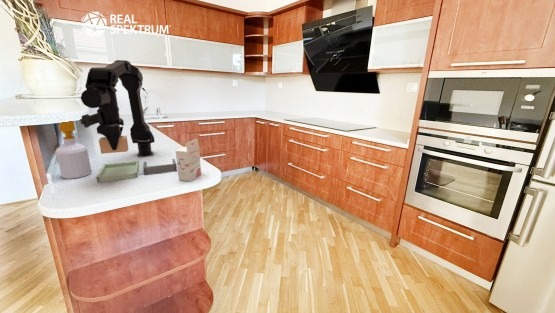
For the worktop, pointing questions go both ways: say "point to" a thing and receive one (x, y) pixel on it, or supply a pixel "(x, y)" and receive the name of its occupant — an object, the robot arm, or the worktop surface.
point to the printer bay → (159, 168)
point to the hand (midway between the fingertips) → (115, 148)
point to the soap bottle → (72, 154)
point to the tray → (118, 171)
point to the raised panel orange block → (107, 148)
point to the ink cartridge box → (188, 161)
